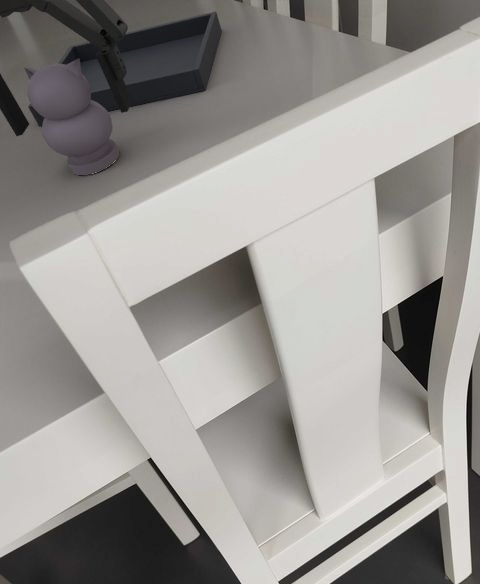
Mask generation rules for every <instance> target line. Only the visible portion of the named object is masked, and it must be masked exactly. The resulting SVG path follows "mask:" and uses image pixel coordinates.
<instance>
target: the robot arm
mask: <svg viewBox="0 0 480 584" xmlns="http://www.w3.org/2000/svg"><path fill="white" fill-rule="evenodd" d="M75 1H76V2H77V3H78V5H80V7H82V8H83V9H84V11H85V12H86V13H85V12H84V11H82V10H81V9H80V8H77V6H75V5H74V4H73V3H71V2H69V0H0V17H1V18H2V19H3V18H7V17H9V16H11V15H12V14H14V13H26V12H28V11H30V10H31V9H32V8H34V9H36V10H38V11H39V12H41V13H46V14H48V15H49V16H50V17H52V18H53V19H55V20H56V21H58V22H60V23H61V24H62V25H64V26H65V27H67V28H68V29H70V30H71V31H73V32H74V33H75V34H77V35H79V36H80V37H82V38H83V39H84V40H86V42H90V43H92V44H93V45H95V46H96V47H98V48H99V51H98V52H97V54H96V57H97V60H98V62H99V64H100V66H101V69H102V71H103V73H104V75H105V77H106V80H107V82H108V84H109V86H110V88H111V91H112V93H113V95H114V97H115V100H116V102H117V104H118V106H119V108H120V109H119V111H120V113H121V114H123V113H128V112H129V109H130V108H131V107H130V105H131V103H132V99H131V96H130V94H129V92H128V89H127V87H126V85H125V82H124V80H123V78H124V77H125V75H126V73H127V69H126V66H125V63H124V61H123V59H122V56H121V54H120V51H119V49H118V47H117V42H119V41H121V40H122V39H123V37H124V35H125V34H126V33H128V32H127V31H128V29H129V26H128V24H127V23H126V22H125V20H124V19H123V18H121V16H120V15H119V14H118V13H117V12H116V11H115V9H113V8H112V7H111V5H109V3H108V2H107V1H106V0H75ZM87 13H88V14H89V15H88V14H87ZM0 111H1V113H2V115H3V117H4V118H5V119H6V121H7V123H8V124H9V126H10V128H11V129H12V131H13V133H14V135H15V136H16V137H20V136H23V135H24V133H25V132H26V130H27V129H28V127H29V126H30V122H29V120H28V119H27V117H26V115H25V113H24V112H23V110H22V108H21V107H20V105H19V104H18V101H17V100H16V98H15V96H14V94H13V93H12V91H11V90H10V88H9V86H8V84H7V82H6V80H5V79H4V77H3V75H2V74H1V73H0Z"/></svg>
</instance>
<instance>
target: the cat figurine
mask: <svg viewBox="0 0 480 584" xmlns="http://www.w3.org/2000/svg"><path fill="white" fill-rule="evenodd" d="M23 68H24V70H25V73H26V75H27V77H28V80H29V81H28V84H27V98H28V101H29V104H30V103H31V105H32V107H33V108H34V109H35V110H36V111H37V112H38V113H39V114H40V115H41V116H43V117H45V118H44V120H43V125H42V126H41V133H42V137H43V140H44V142H45V143H46V144H47V146H48V147H49V148H50V149H52V151H54V152H56V153H57V154H59V155H63V156H65V157H67V158H66V163H67V165H68V167H69V169H70V170H71V172H72V174H74V175H75V174H76V175H75V176H78V175H88V174H92V173H95V172H98V171H100V170H102V169H105V168H106V167H108V166H109V165H111V164H112V163H113V162H114V161H115V160H117V159H118V160H119V158H120V156H119V152H120V150H119V148H118V146H117V144H116V142H115V141H114V140H113V139H112V138H110V137H111V135H112V132H113V120H112V117H111V114H110V113H109V111H107V110H106V109H105V108H104V107H103V106H101V105H100V104H99V103H97V102H95V101H92V100H90V99H91V90H90V86H89V83H88V81H87V79H86V78H85V76H84V75H83V74H82V71H81V65H80V59H77V60H75V61H73V62H71V63H69V64H67V65H65V64H58V63H51V64H47V65H44V66H41V67H40V68H39V69H36V68H30V67H23ZM118 157H119V158H118ZM118 160H117V161H118ZM105 170H106V169H105ZM88 176H89V175H88Z"/></svg>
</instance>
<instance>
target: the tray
mask: <svg viewBox="0 0 480 584" xmlns="http://www.w3.org/2000/svg"><path fill="white" fill-rule="evenodd" d="M221 35H222V27H221V22H220V20H219V16H218V13H217V11H215V10H214V11H212V12H207V13H203V14H199V15H196V16H191V17H185V18H182V19H178V20H174V21H170V22H166V23H161V24H157V25H153V26H149V27H144V28H141V29H136V30H132V31H128V32H126V34H125V35H124V37H123V39H122V40H121V41H119V42H117V47H118V49H119V51H120V54H121V56H122V59H123V61H124V63H125V66H126V69H127V73H126V75H125V77H124V78H123V80H124V82H125V85H126V87H127V89H128V92H129V94H130V96H131V99H132V103H131V105H130V107H129V108H132V107H136V106H140V105H145V104H151V103H153V102H159V101H164V100H168V99H172V98H176V97H181V96H186V95H190V94H196V93H201V92H205V91H206V90H207V86H208V83H209V79H210V75H211V72H212V69H213V68H212V67H213V64H214V60H215V57H216V54H217V50H218V46H219V43H220V39H221ZM98 51H99V48H98V47H96V46H95V45H93V44H92V43H90V42H89V41H86V42H82V43H78V44H74V45H69V47H68V49H67V50H66V51H65V53H64V54H63V56H62V57H61V58H60V60H59V62H57V64H65V65H67V64H69V63H71V62H73V61H75V60H77V59H80V65H81V71H82V74H83V75H84V76H85V78H86V79H87V81H88V83H89V86H90V90H91V99H90V100H92V101H95V102H97V103H99V104H100V105H101V106H103V107H104V108H105V109H106V110H107V111H108V112H112V111H117V110H120V108H119V106H118V104H117V102H116V100H115V97H114V95H113V93H112V91H111V88H110V86H109V84H108V82H107V80H106V77H105V75H104V73H103V71H102V69H101V66H100V64H99V62H98V60H97V57H96V54H97V52H98ZM163 99H164V100H163ZM27 107H28V108H27V109H28V110H29V112H30V113H31V114H32V117H33V118H34V120H35V122H36V123H37V126H38V127H42V125H43V120H44V118H45V117H43V116H41V115H40V114H39V113H38V112H37V111H36V110H35V109H34V108H33V107H32V105H31V103H30V102H29V105H28V106H27Z"/></svg>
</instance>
